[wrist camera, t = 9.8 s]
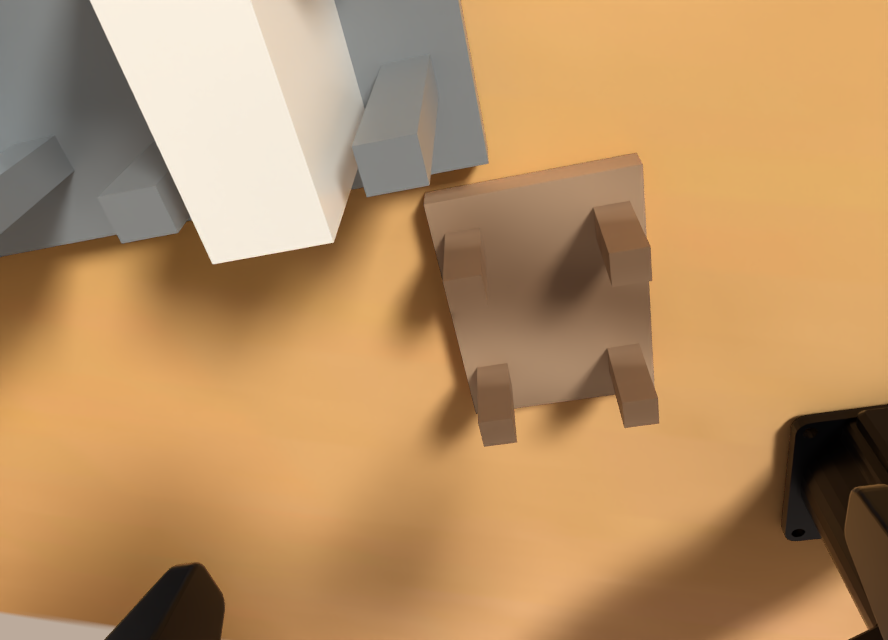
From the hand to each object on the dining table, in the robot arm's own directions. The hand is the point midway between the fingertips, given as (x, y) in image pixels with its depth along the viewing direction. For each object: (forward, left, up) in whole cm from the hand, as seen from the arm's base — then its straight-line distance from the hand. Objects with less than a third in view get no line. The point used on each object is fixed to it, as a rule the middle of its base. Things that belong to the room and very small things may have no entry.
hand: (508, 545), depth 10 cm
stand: (-4, -1, -12) cm, 13 cm away
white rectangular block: (+6, +4, -11) cm, 13 cm away
